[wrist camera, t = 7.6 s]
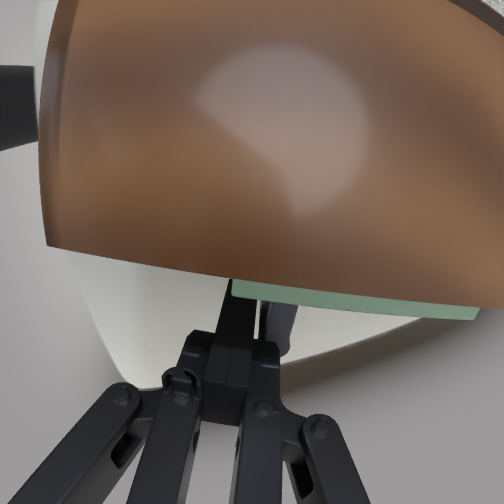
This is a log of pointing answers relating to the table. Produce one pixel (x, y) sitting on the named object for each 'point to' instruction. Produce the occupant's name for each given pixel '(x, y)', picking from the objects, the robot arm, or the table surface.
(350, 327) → the table surface
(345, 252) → the cabinet
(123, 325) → the table surface
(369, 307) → the sliding door
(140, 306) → the table surface
